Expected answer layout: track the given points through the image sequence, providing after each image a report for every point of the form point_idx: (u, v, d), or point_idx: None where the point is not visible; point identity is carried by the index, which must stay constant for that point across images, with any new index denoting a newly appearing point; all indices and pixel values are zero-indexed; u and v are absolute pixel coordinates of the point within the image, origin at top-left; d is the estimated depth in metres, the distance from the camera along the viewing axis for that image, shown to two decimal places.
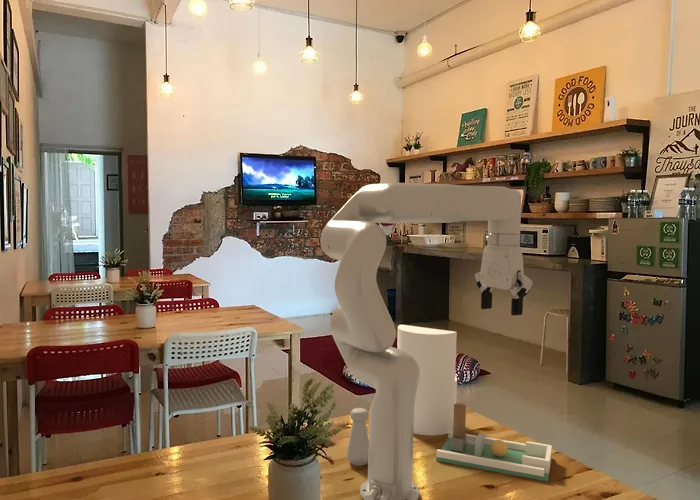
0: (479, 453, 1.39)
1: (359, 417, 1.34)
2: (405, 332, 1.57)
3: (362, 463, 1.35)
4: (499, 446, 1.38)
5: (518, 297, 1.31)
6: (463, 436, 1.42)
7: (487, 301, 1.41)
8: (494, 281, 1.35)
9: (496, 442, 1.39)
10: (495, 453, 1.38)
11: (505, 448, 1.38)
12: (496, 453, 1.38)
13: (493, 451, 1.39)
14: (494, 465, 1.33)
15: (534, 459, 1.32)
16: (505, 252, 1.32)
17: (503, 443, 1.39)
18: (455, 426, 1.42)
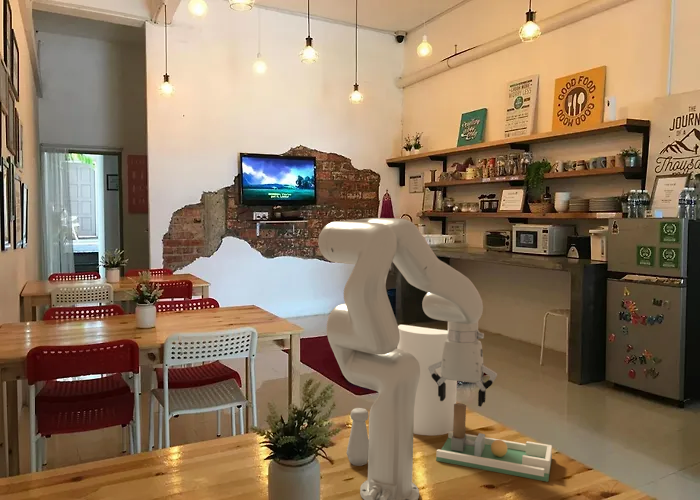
0: (479, 453, 1.39)
1: (359, 417, 1.34)
2: (405, 332, 1.57)
3: (362, 463, 1.35)
4: (499, 446, 1.38)
5: None
6: (463, 436, 1.42)
7: None
8: None
9: (496, 442, 1.39)
10: (495, 453, 1.38)
11: (505, 448, 1.38)
12: (496, 453, 1.38)
13: (493, 451, 1.39)
14: (494, 465, 1.33)
15: (534, 459, 1.32)
16: None
17: (503, 443, 1.39)
18: (455, 426, 1.42)
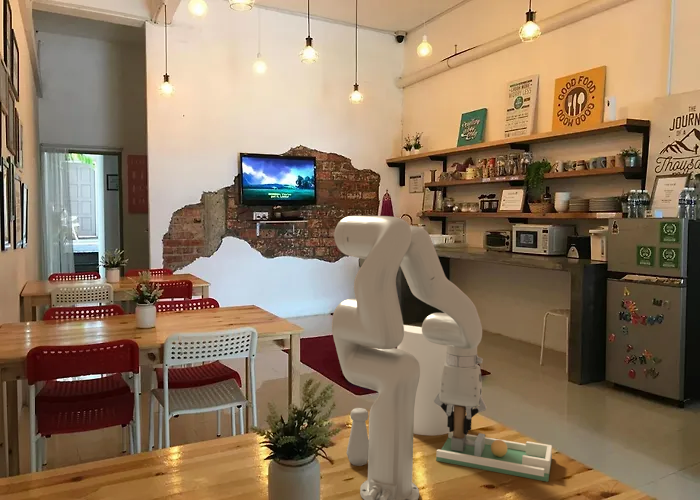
0: (479, 453, 1.39)
1: (359, 417, 1.34)
2: (405, 332, 1.57)
3: (362, 463, 1.35)
4: (499, 446, 1.38)
5: None
6: (463, 436, 1.42)
7: None
8: None
9: (496, 442, 1.39)
10: (495, 453, 1.38)
11: (505, 448, 1.38)
12: (496, 453, 1.38)
13: (493, 451, 1.39)
14: (494, 465, 1.33)
15: (534, 459, 1.32)
16: None
17: (503, 443, 1.39)
18: (455, 426, 1.42)
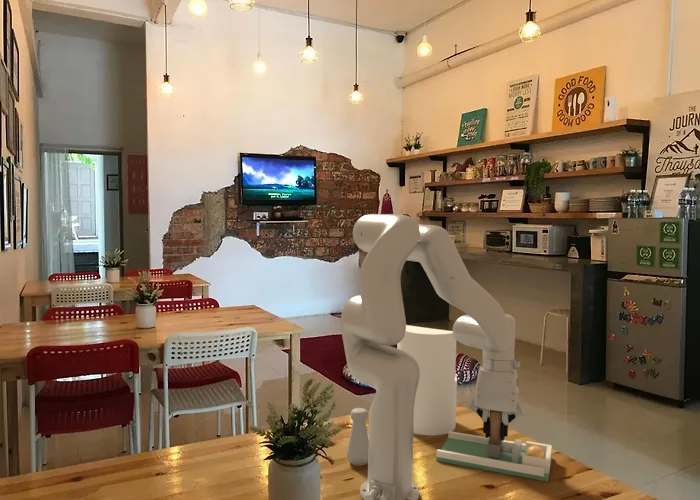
0: (517, 460, 1.35)
1: (359, 417, 1.34)
2: None
3: (362, 463, 1.35)
4: None
5: None
6: (499, 442, 1.39)
7: None
8: None
9: None
10: (537, 454, 1.35)
11: None
12: (536, 454, 1.35)
13: (539, 456, 1.35)
14: (494, 465, 1.33)
15: (534, 459, 1.32)
16: None
17: None
18: (491, 432, 1.39)
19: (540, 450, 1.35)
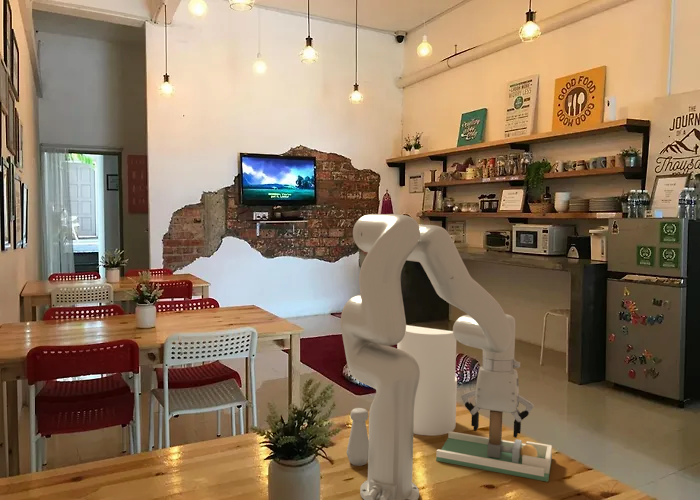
0: (517, 460, 1.35)
1: (359, 417, 1.34)
2: None
3: (362, 463, 1.35)
4: None
5: None
6: (500, 442, 1.39)
7: None
8: None
9: None
10: (528, 451, 1.35)
11: None
12: (527, 452, 1.35)
13: (531, 452, 1.35)
14: (494, 465, 1.33)
15: (534, 459, 1.32)
16: None
17: None
18: (491, 432, 1.39)
19: (528, 446, 1.36)
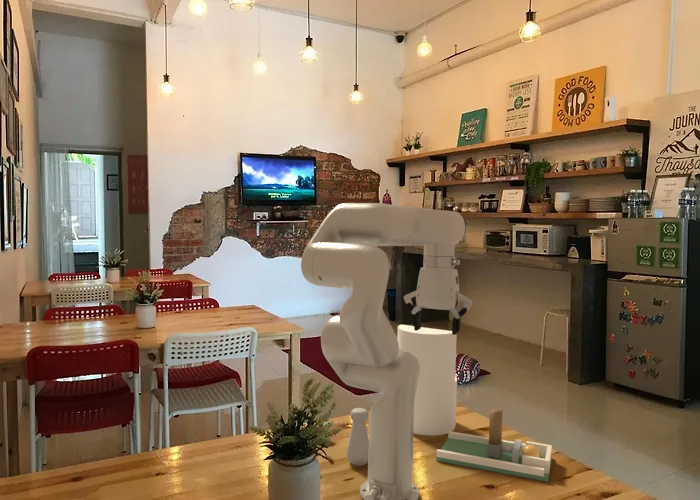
0: (517, 460, 1.35)
1: (359, 417, 1.34)
2: (405, 332, 1.57)
3: (362, 463, 1.35)
4: None
5: None
6: (500, 442, 1.39)
7: None
8: None
9: None
10: (531, 452, 1.35)
11: None
12: (530, 453, 1.35)
13: (533, 453, 1.35)
14: (494, 465, 1.33)
15: (534, 459, 1.32)
16: None
17: None
18: (491, 432, 1.39)
19: (531, 447, 1.36)
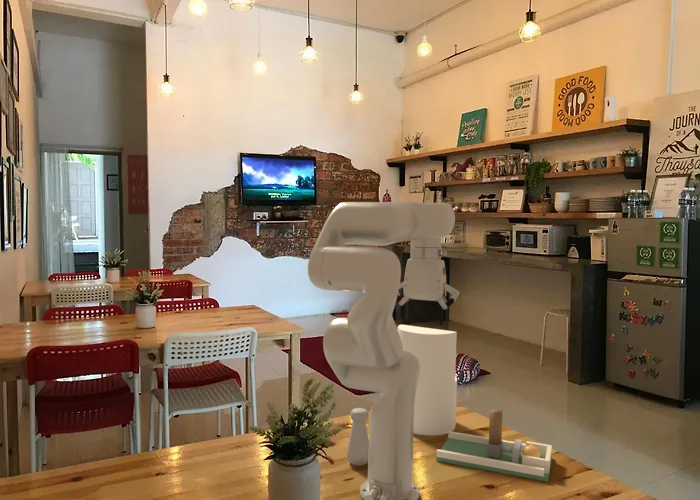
0: (517, 460, 1.35)
1: (359, 417, 1.34)
2: (405, 332, 1.57)
3: (362, 463, 1.35)
4: None
5: None
6: (500, 442, 1.39)
7: None
8: None
9: None
10: (532, 452, 1.35)
11: None
12: (531, 453, 1.35)
13: (534, 453, 1.35)
14: (494, 465, 1.33)
15: (534, 459, 1.32)
16: None
17: None
18: (491, 432, 1.39)
19: (533, 447, 1.36)
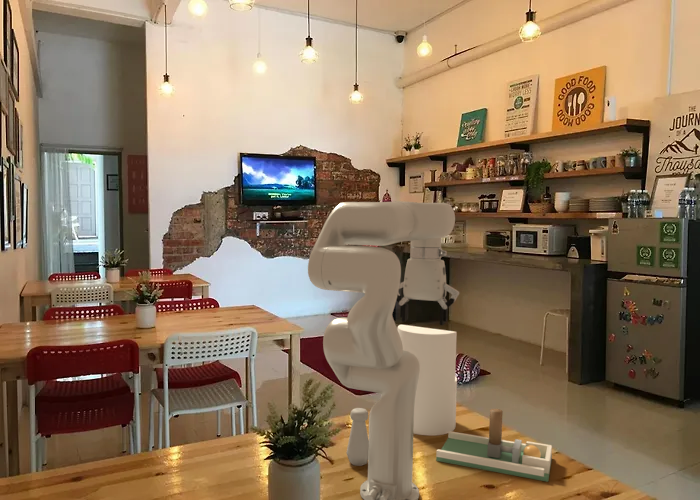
0: (517, 460, 1.35)
1: (359, 417, 1.34)
2: (405, 332, 1.57)
3: (362, 463, 1.35)
4: None
5: None
6: (500, 442, 1.39)
7: None
8: None
9: None
10: (533, 453, 1.35)
11: None
12: (532, 453, 1.35)
13: (535, 454, 1.35)
14: (494, 465, 1.33)
15: (534, 459, 1.32)
16: None
17: None
18: (491, 432, 1.39)
19: (534, 448, 1.36)
